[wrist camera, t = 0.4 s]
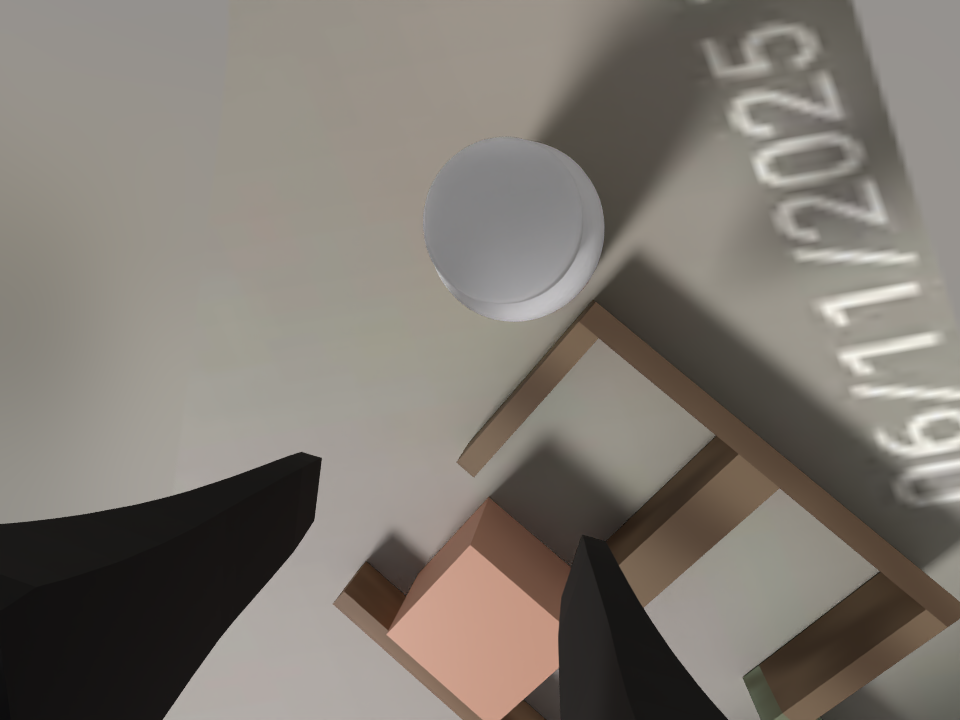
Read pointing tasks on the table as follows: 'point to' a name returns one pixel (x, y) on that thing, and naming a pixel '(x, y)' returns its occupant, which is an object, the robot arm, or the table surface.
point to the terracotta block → (486, 613)
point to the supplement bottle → (513, 228)
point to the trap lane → (707, 543)
